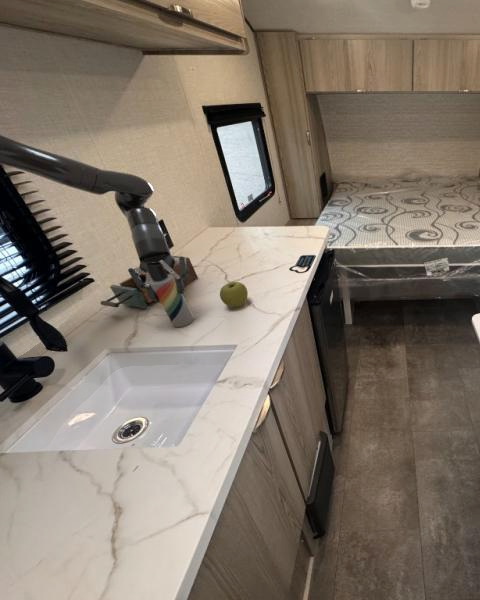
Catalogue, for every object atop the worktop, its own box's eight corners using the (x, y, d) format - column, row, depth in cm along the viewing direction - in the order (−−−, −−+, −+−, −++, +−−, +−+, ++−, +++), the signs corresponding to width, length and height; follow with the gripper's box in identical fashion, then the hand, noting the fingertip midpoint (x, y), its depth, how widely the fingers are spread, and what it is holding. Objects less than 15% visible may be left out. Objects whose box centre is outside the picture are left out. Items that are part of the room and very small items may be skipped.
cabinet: (167, 298, 110) (155, 276, 105) (142, 293, 113) (129, 272, 109) (198, 278, 121) (188, 257, 116) (174, 274, 124) (164, 254, 119)
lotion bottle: (170, 322, 98) (137, 264, 87) (190, 313, 102) (161, 256, 90) (177, 330, 95) (143, 270, 84) (197, 320, 98) (167, 262, 87)
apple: (255, 301, 106) (249, 283, 102) (233, 314, 101) (225, 295, 97) (242, 295, 110) (235, 276, 106) (220, 306, 104) (212, 287, 100)
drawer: (127, 318, 99) (115, 300, 96) (103, 314, 102) (90, 296, 98) (176, 288, 114) (167, 271, 110) (154, 284, 117) (145, 268, 113)
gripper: (114, 244, 87) (133, 301, 85) (175, 231, 93) (194, 285, 91) (126, 254, 94) (144, 308, 92) (182, 242, 100) (200, 292, 98)
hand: (169, 296), depth 91 cm, fingers closed on lotion bottle, 5 cm apart
